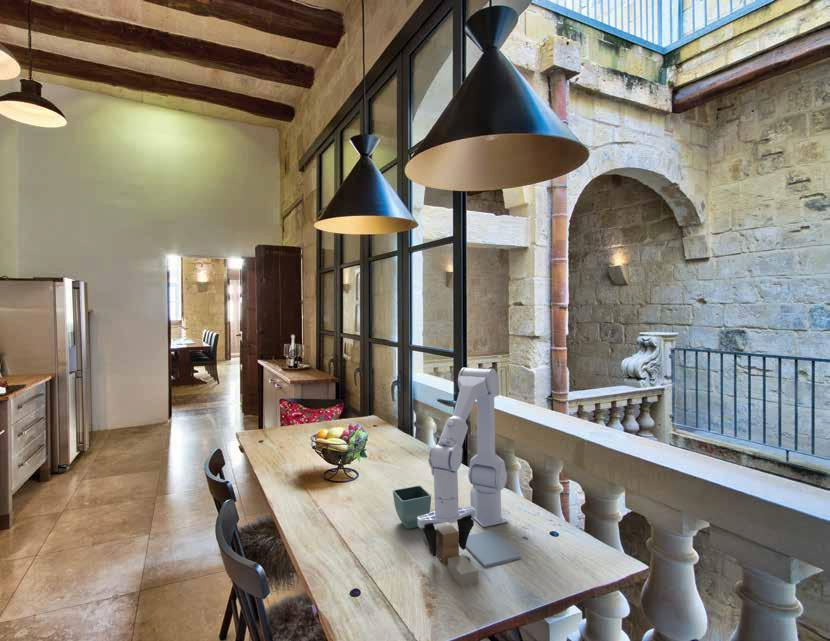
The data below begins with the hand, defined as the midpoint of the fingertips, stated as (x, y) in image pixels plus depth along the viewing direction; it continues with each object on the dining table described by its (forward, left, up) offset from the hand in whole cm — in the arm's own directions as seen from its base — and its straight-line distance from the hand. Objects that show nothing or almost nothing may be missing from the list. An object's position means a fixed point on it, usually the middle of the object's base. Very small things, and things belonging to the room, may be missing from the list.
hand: (447, 551), depth 108 cm
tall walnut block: (0, 0, -2) cm, 2 cm away
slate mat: (0, +11, -2) cm, 11 cm away
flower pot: (-20, -2, -2) cm, 20 cm away
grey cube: (-8, 0, -2) cm, 8 cm away
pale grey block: (+8, 0, -2) cm, 8 cm away
